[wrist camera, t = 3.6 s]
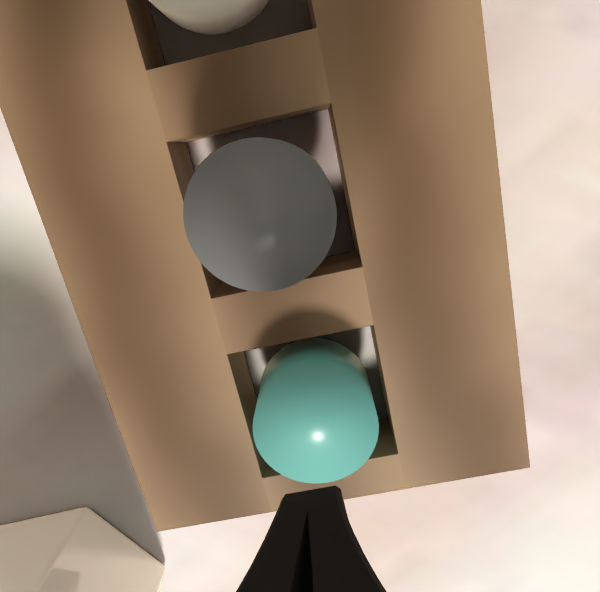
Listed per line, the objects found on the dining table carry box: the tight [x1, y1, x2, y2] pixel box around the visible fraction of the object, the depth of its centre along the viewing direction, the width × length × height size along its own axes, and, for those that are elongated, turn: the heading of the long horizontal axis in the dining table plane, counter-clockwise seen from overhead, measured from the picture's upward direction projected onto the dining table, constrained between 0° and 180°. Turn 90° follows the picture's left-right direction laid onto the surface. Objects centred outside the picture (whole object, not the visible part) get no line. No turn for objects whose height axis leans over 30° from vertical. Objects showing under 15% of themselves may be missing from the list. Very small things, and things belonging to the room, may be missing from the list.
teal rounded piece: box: [253, 338, 379, 484], centre depth 17 cm, size 4×4×3 cm
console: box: [0, 0, 530, 532], centre depth 17 cm, size 14×22×2 cm, turn 13°
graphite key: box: [183, 137, 337, 292], centre depth 14 cm, size 4×4×3 cm
